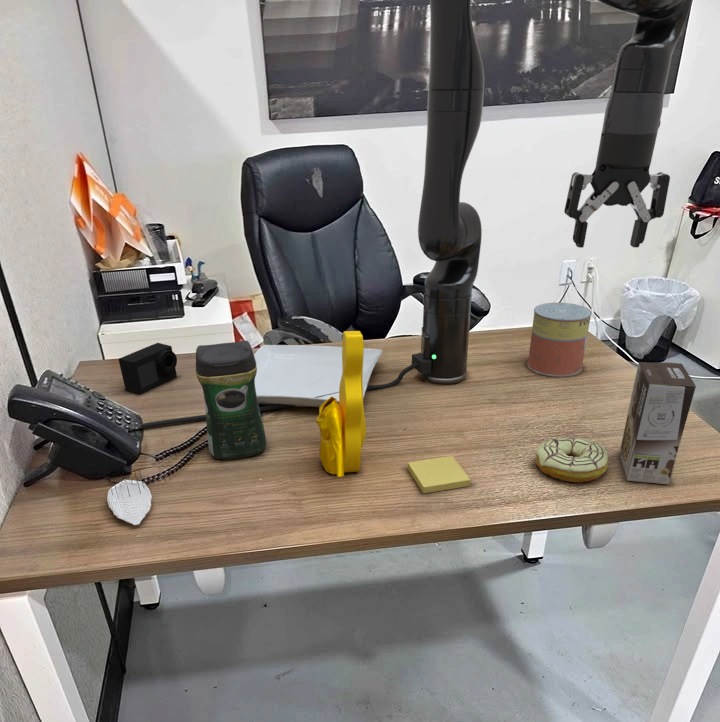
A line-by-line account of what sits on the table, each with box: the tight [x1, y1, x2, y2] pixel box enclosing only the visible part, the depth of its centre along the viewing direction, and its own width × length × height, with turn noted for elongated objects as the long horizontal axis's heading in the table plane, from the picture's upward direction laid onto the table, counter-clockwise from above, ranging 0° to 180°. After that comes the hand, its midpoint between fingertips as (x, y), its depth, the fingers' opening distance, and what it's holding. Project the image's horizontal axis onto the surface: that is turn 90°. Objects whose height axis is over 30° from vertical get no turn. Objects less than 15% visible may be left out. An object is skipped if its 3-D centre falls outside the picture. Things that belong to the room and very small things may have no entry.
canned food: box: [526, 302, 592, 378], centre depth 135 cm, size 11×11×12 cm
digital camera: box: [118, 342, 178, 395], centre depth 133 cm, size 10×5×7 cm, turn 148°
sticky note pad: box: [407, 455, 472, 494], centre depth 101 cm, size 8×8×1 cm
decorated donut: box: [535, 436, 609, 483], centre depth 102 cm, size 10×11×4 cm
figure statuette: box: [315, 330, 367, 478], centre depth 100 cm, size 18×8×22 cm, turn 11°
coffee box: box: [619, 361, 697, 485], centre depth 99 cm, size 9×6×16 cm
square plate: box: [253, 344, 383, 408], centre depth 132 cm, size 27×27×4 cm
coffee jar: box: [195, 340, 267, 460], centre depth 106 cm, size 10×8×19 cm
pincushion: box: [106, 469, 153, 526], centre depth 95 cm, size 12×6×6 cm, turn 25°
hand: (606, 246), depth 102 cm, fingers open, 8 cm apart
